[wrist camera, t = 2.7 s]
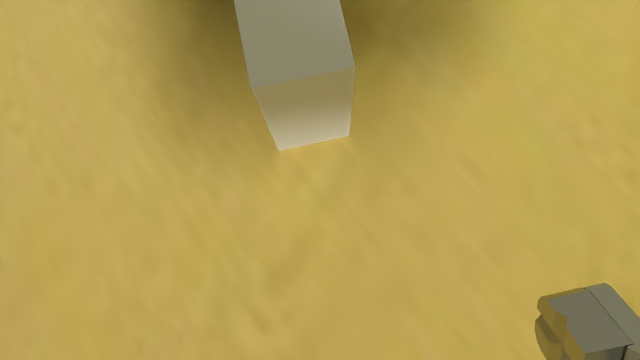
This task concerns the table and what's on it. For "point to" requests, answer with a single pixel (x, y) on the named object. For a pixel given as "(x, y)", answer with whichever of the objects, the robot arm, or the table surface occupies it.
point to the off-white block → (298, 68)
